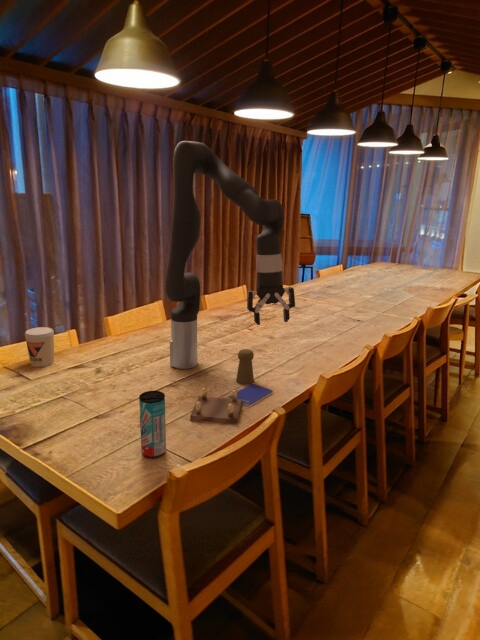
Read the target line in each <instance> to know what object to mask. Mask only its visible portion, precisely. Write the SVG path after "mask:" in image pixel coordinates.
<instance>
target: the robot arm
mask: <svg viewBox="0 0 480 640" xmlns="http://www.w3.org/2000/svg"><path fill="white" fill-rule="evenodd" d="M172 161H173V166H172V167H173V168H172V170H173V208H172V216H171V217H172V218H171V234H170V238H171V239H170V246H169V247H170V249H169V257H168V265H167V271H166V276H165V287H164V289H165V294H166V297H167V299H168V300H169V301H171V302H173V303H177V302H178V305H177V306H176V307H173V309H171V312H170V339H169V366H170V367H174V368H176V369H181V370H187V369H194V368H195V367H196V366H198V315H199V311H200V304H201V302H200V301H201V284H200V283H201V282H200V279H199V277H198V276H197V274H195V273H193V272H186V265H187V262H188V259H189V257H190V255H191V254H192V252H193V251H194V249H195V247H196V246H197V243H198V241H199V238H200V234H201V233H200V232H201V221H202V217H201V216H202V215H201V212H200V208H199V205H198V204H197V203H198V202H197V200H196V199H195V195H194V174H202V175H203V176H206V177H209V178H210V179H212V181H214V182H215V183H216V184H217V185H218V188H219V189H220V191H221V192H222V193H223V195H224V196H225V197H226V198H227V199H228V200H230V201H231V202H232V203H233V204H235V205H236V206H238V207H239V208H240V209H241V211H242V212H243V213H244V214H245V216H246V217H247V218H248V219H249V220H250V221H252V223H254V224H256V225H259V226H262V231H261V233H260V234H258V235H257V237H256V238H255V239H256V240H255V244H256V245H255V247H256V261H255V262H256V281H257V289H256V290H247V292H246V295H247V296H246V305H247V307H246V308H247V311H248V312H251V313H252V312H253V322H254V323H255V324H256V325H257V326H261V318H260V317H261V316H260V310H261V309H262V308H263V307H264V305H271V304H274V305H277V304H278V303H279V304H280V305H281V307H282V308H283V310H282V311H283V322H284V323H288V321H289V320H290V310H291V309H292V308H295V307H296V298H295V289H294V287H292V286H288V287H285V288H284V279H283V276H284V275H283V268H284V267H283V266H284V265H283V258H282V252H281V251H282V249H281V245H282V244H281V236H282V232H283V227H284V221H285V211H284V208H283V205H282V203H281V202H280V201H279V200H277V199H274V198H273V199H272V198H270V199H269V198H268V199H267V198H265V199H264V198H261V197H260V196H259V191H258V190H257V188H255V187H254V186H253V184H250V183H249V182H248V181H247V180H245V179H244V178H242V177H241V176H240V175H238V174H237V173H235V172H234V171H233V170H232V169H231V168H230V167H228V166H227V165H226V164H225V163H224V162H223V161H222V160H221V159H220V158H219V157H218V155H216V154H215V152H214V151H213V150H212V149H211V148H210V147H208V145H207V144H205V143H203V142H200V141H192V140H190V141H189V140H182V141H179V142H178V143H177V145H175V148H174V152H173V160H172ZM285 294H286V295H288V296H287V297H288V303H287V302H286V301H285V300H284V299H283V296H284V295H285ZM256 296H257V297H258V298H259V299H258V300H257V302H256V303H255V305H254V303H253V301H254V300H253V299H255V297H256ZM253 306H254V307H253Z"/></svg>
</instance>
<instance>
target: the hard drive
mask: <svg viewBox="0 0 480 640" xmlns="http://www.w3.org/2000/svg"><path fill="white" fill-rule="evenodd" d="M272 394H273V390H272V389H270V388H267V387H264V386H261V385H258V384H255V383H253V384H250V385H246V387H243V388H241V389H240V390H237V399H242V404H241V405H243V406H246V407H248V408H250V407H253V406H254V405H255V404H256V403H259V402H260V401H262V400H263V399H266V397H269V396H270V395H272ZM227 398H229V399H232V394H230V395H228V396H227Z"/></svg>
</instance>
